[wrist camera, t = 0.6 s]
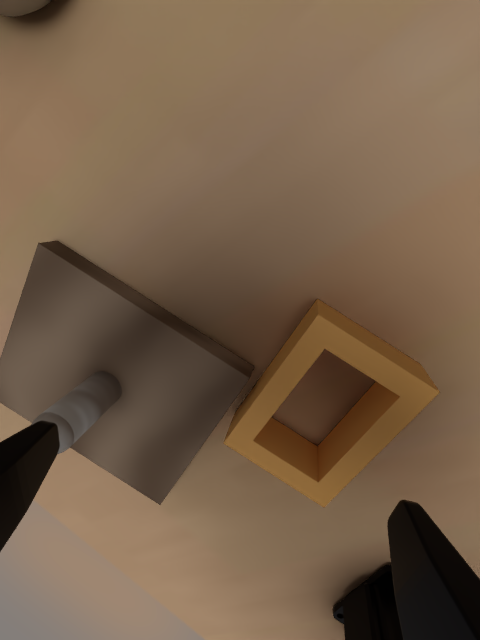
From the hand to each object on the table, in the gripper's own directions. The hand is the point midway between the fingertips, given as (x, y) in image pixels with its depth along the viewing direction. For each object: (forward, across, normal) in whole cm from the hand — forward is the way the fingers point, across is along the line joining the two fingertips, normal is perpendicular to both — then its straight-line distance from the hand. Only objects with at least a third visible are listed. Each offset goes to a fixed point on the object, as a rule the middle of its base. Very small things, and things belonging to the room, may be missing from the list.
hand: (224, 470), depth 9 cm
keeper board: (+11, +8, +8) cm, 16 cm away
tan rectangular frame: (+10, -5, +5) cm, 12 cm away
